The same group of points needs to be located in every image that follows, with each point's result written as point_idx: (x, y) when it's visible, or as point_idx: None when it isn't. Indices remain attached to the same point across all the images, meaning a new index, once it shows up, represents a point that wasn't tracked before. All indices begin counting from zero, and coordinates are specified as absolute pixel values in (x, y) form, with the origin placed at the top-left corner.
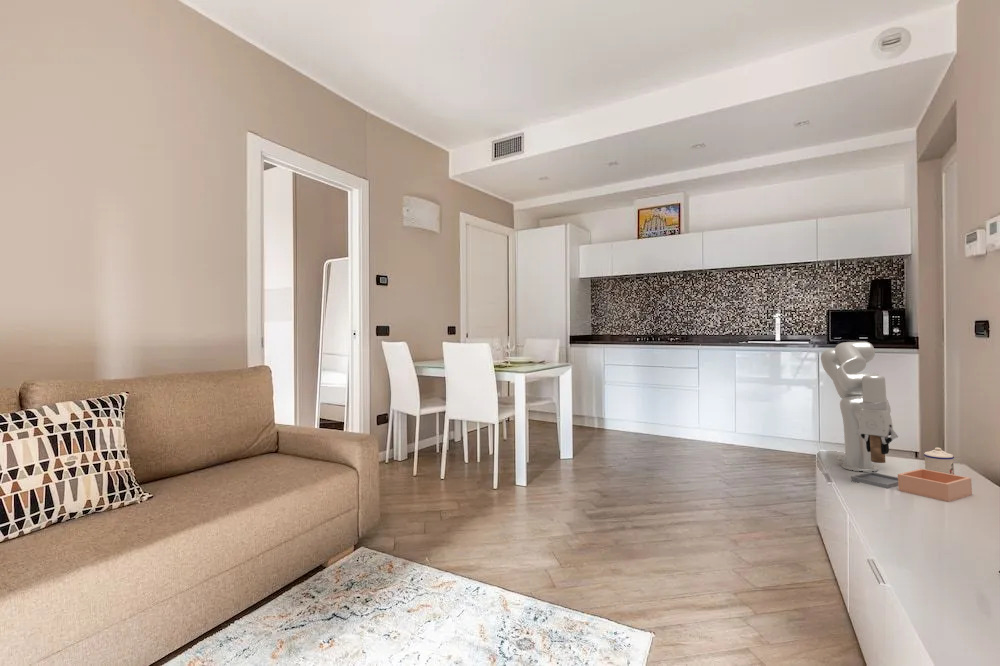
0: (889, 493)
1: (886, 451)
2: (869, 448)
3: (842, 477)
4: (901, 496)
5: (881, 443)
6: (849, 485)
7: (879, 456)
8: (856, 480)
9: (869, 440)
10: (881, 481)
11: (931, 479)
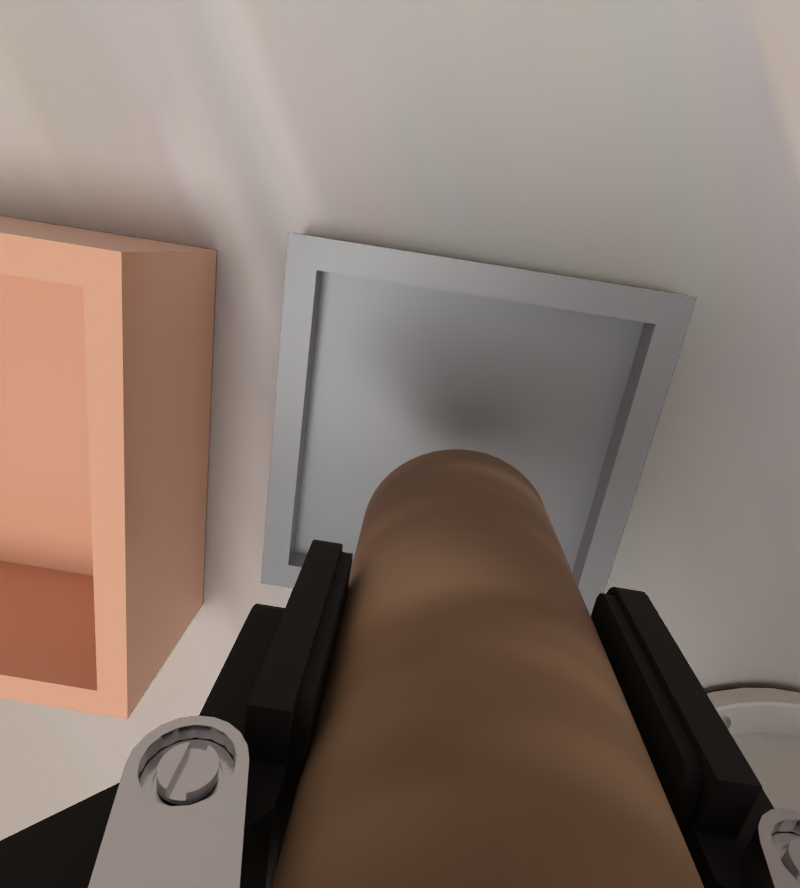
0: (238, 102)
1: (256, 605)
2: (619, 645)
3: (787, 390)
4: (121, 79)
5: (313, 765)
6: (641, 92)
7: (397, 509)
8: (623, 285)
9: (706, 883)
10: (424, 424)
11: (75, 618)
